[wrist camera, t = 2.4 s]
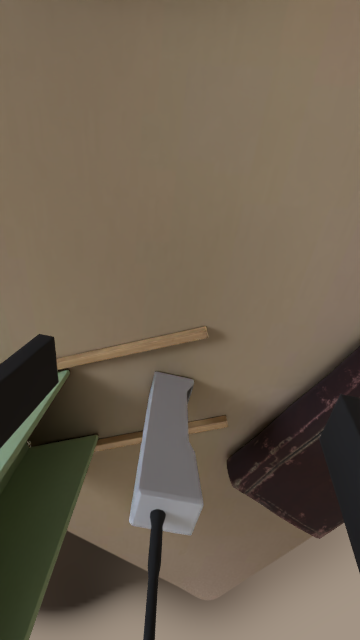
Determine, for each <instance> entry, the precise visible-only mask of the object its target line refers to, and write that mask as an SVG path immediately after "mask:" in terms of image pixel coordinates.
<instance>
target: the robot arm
mask: <svg viewBox="0 0 360 640" xmlns="http://www.w3.org/2000/svg"><path fill="white" fill-rule="evenodd" d="M58 383H59V379H58V370H57V360H56V351H55V342H54V337H52V336H47V335H42V334H39V335H37V336H36V337H35V338H33V339H32V340H31V341H30V342H28V343H27V344H26V345H24V346H23V347H22V348H21V349H19V350H18V351H17V352H15V353H14V354H13V355H12V356H10V357H9V358H8V359H7V360H5V361H4V362H3V363H1V364H0V448H1V447H2V446H3V445H4V444H5V443H6V442H7V440H8V439H9V438H10V437H11V436H12V435H13V434H14V432H15V431H16V430H17V429H18V428H19V427H20V426H21V425H22V423H23V422H24V421H25V420H26V419H27V418H28V417H29V416H30V414H31V413H32V412H33V411H34V410H35V409H36V408H37V406H38V405H39V404H40V403H41V402H42V401H43V400H44V399H45V397H46V396H47V395H48V394H49V393H50V392H51V391H52V389H53V388H54V387H55V386H56V385H57V384H58ZM319 440H320V444H321V447H322V450H323V454H324V457H325V460H326V463H327V467H328V470H329V473H330V477H331V480H332V483H333V486H334V490H335V493H336V496H337V500H338V503H339V506H340V510H341V513H342V516H343V519H344V523H345V526H346V529H347V533H348V536H349V539H350V542H351V546H352V549H353V552H354V555H355V559H356V562H357V566H358V569H359V572H360V398H359V397H354V396H349V395H344V394H340V395H339V398H338V400H337V402H336V404H335V406H334V408H333V410H332V412H331V415H330V417H329V419H328V421H327V423H326V425H325V427H324V429H323V432H322V434H321V436H320V438H319Z"/></svg>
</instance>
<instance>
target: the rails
mask: <svg viewBox="0 0 360 640" xmlns="http://www.w3.org/2000/svg"><path fill="white" fill-rule="evenodd" d="M204 338H208V333H207V329H206V326H205V327H200V328H196V329H191V330H186V331H182V332H177V333H173V334H168V335H163V336H159V337H154V338H150V339H145V340H141V341H136V342H131V343H127V344H122V345H118V346H113V347H108V348H104V349H99V350H95V351H90V352H86V353H81V354H76V355H72V356H67V357H63V358H58V359H56V360H57V370H60V369H65V368H69V367H74V366H79V365H83V364H88V363H93V362H97V361H102V360H107V359H111V358H116V357H121V356H125V355H130V354H134V353H139V352H144V351H148V350H153V349H158V348H162V347H167V346H172V345H176V344H181V343H186V342H190V341H195V340H200V339H204ZM225 427H228V423H227V419H226V415H224V416H219V417H214V418H209V419H203V420H198V421H193V422H188V434H193V433H198V432H204V431H209V430H214V429H220V428H225ZM142 437H143V431H140V432H135V433H130V434H125V435H119V436H114V437H109V438H104V439H98V441H97V444H96V447H95V450H94V452H97V451H102V450H107V449H113V448H118V447H123V446H129V445H134V444H139V443H142Z"/></svg>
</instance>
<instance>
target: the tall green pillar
mask: <svg viewBox="0 0 360 640" xmlns="http://www.w3.org/2000/svg"><path fill="white" fill-rule="evenodd" d="M69 375H70V372H69V370H65V371H60V372H58V379H59V383H58V384H57V385H56V386H55V387H54V388H53V389H52V391H51V392H50V393H49V394H48V395H47V396H46V397H45V399H44V400H43V401H42V402H41V403H40V404H39V405H38V406H37V408H36V409H35V410H34V411H33V412H32V413H31V414H30V416H29V417H28V418H27V419H26V420H25V421H24V422H23V423H22V425H21V426H20V427H19V428H18V429H17V430H16V431H15V432H14V434H13V435H12V436H11V437H10V438H9V439H8V440H7V442H6V443H5V444H4V445H3V446H2V447H1V448H0V640H29V638H30V635H31V632H32V629H33V626H34V623H35V620H36V617H37V615H38V612H39V609H40V606H41V603H42V600H43V597H44V594H45V591H46V589H47V586H48V583H49V580H50V577H51V574H52V571H53V568H54V565H55V563H56V560H57V557H58V554H59V551H60V548H61V545H62V542H63V539H64V536H65V533H66V531H67V528H68V525H69V522H70V519H71V516H72V513H73V510H74V508H75V505H76V502H77V499H78V496H79V493H80V490H81V487H82V484H83V482H84V479H85V476H86V473H87V470H88V467H89V464H90V461H91V458H92V456H93V453H94V450H95V447H96V444H97V441H98V438H99V437H98V435H93V436H87V437H82V438H77V439H72V440H66V441H61V442H56V443H51V444H46V445H40V446H35V447H30V448H29V446H28V444H27V442H26V441H27V440H28V438H29V437H30V435H31V433H32V432H33V430H34V429H35V427H36V426H37V424H38V423H39V421H40V420H41V418H42V416H43V415H44V413H45V412H46V410H47V409H48V407H49V406H50V404H51V402H52V401H53V399H54V398H55V396H56V395H57V393H58V392H59V390H60V389H61V387H62V385H63V384H64V382H65V381H66V379H67V378H68V376H69Z"/></svg>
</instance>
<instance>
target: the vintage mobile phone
mask: <svg viewBox="0 0 360 640" xmlns="http://www.w3.org/2000/svg"><path fill="white" fill-rule="evenodd" d="M193 385H194V380H193V379H189V378H185V377H180V376H175V375H171V374H166V373H161V372H157V371H156V372H155V375H154V378H153V382H152V386H151V390H150V394H149V400H148V406H147V412H146V418H145V425H144V431H143V437H142V443H141V449H140V456H139V462H138V468H137V474H136V481H135V487H134V493H133V499H132V506H131V512H130V518H129V522H130V523H131V525H132V526H137V527H143V528H149V529H151V535H150V546H149V557H148V577H149V579H148V590H147V603H146V615H145V626H144V639H143V640H155V623H156V605H157V588H158V576H159V571H160V566H161V550H162V531H167V532H173V533H179V534H185V535H191V534H192V532H193V530H194V527H195V525H196V522H197V520H198V517H199V515H200V513H201V510H202V508H203V497H202V491H201V485H200V479H199V473H198V468H197V462H196V456H195V451H194V450H193V448H192V446H191V444H190V443H189V434H188V408H187V404H188V401H189V398H190V395H191V392H192V389H193Z"/></svg>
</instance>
